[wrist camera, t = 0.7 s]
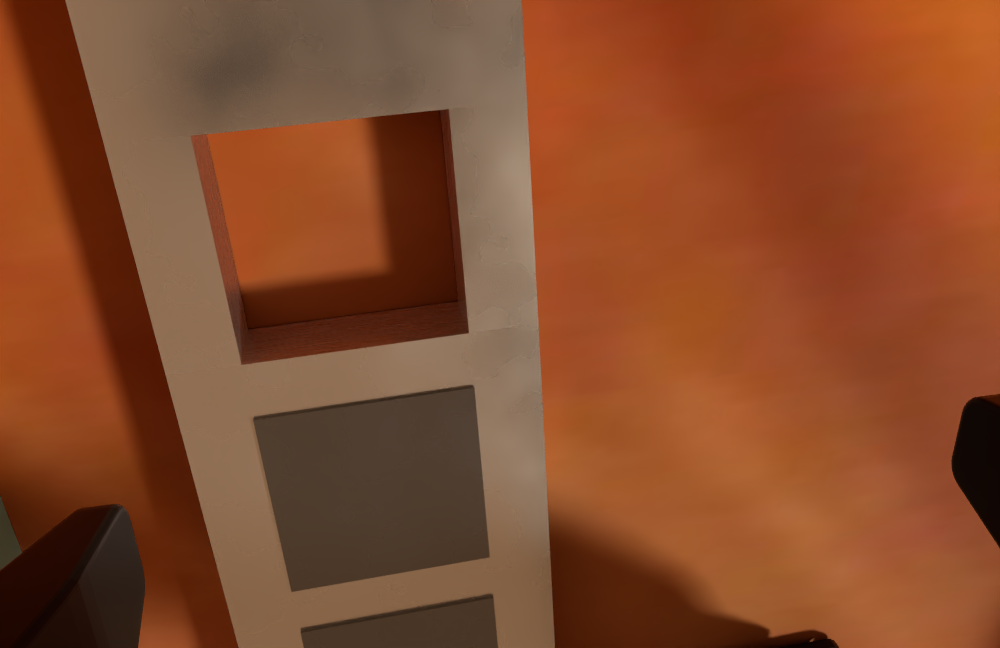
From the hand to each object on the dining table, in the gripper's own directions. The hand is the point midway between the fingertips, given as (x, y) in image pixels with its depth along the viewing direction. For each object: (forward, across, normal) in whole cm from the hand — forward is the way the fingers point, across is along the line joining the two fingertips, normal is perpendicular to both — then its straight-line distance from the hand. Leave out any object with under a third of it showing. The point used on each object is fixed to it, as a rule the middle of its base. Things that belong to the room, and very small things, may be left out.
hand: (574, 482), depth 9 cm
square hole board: (+14, +2, +6) cm, 15 cm away
